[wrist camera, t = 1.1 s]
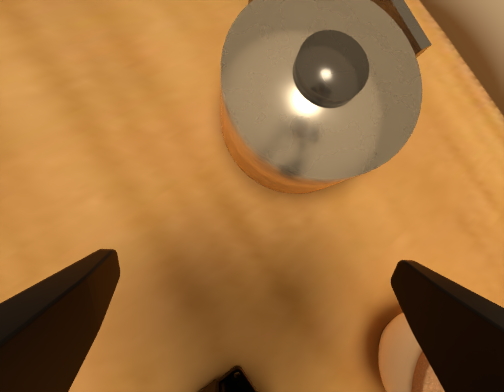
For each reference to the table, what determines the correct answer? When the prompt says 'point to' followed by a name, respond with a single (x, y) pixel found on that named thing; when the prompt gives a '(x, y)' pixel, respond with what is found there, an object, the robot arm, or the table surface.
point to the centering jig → (404, 23)
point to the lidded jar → (404, 360)
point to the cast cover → (316, 91)
